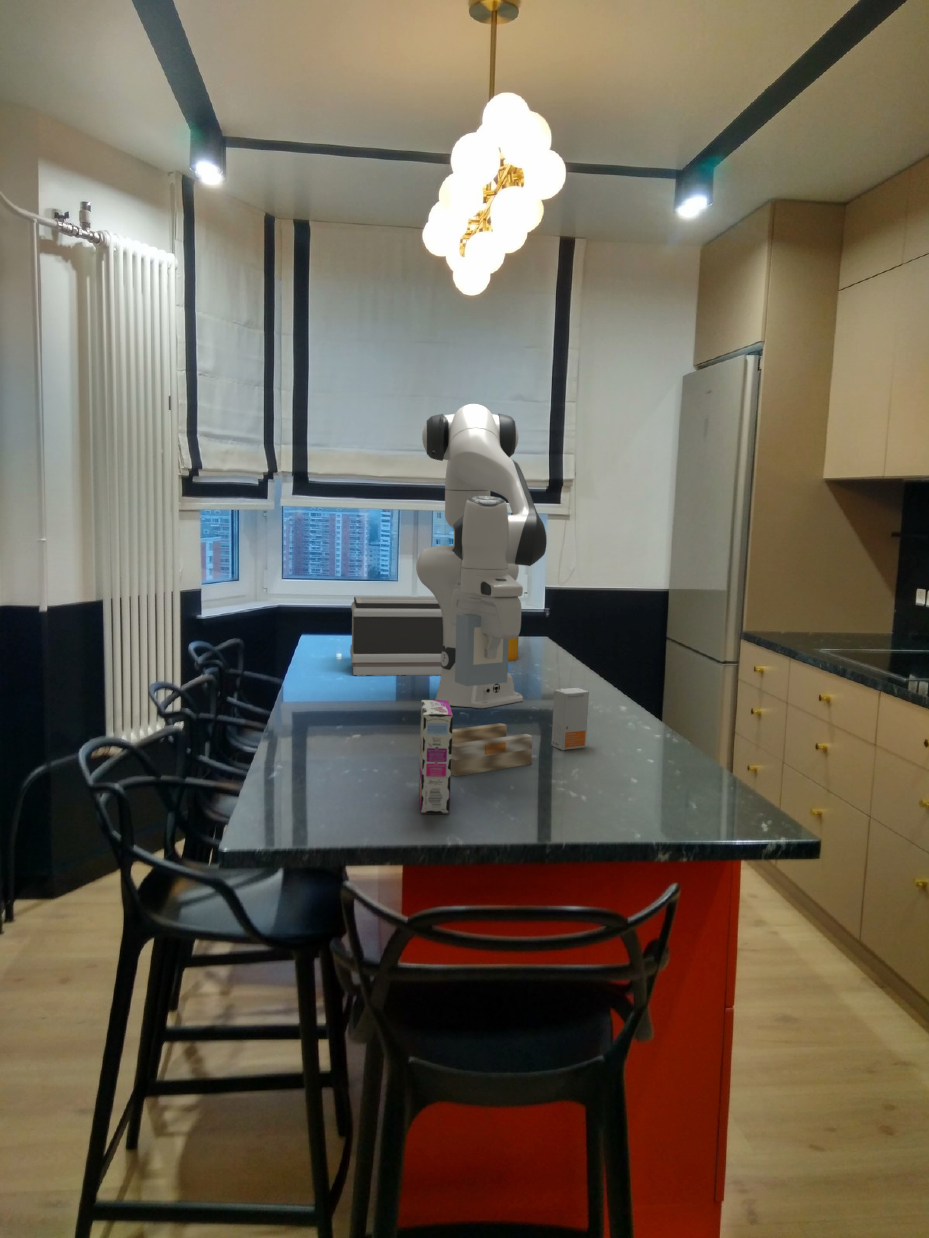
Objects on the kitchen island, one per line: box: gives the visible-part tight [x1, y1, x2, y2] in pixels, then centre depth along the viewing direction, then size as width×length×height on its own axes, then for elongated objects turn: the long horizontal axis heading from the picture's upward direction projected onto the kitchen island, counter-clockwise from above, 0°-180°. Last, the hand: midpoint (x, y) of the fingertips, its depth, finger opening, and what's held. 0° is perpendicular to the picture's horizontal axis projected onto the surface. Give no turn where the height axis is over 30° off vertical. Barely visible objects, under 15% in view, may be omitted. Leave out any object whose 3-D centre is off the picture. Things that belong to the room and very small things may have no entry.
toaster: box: [349, 596, 443, 677], centre depth 254 cm, size 18×34×21 cm, turn 99°
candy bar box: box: [418, 699, 454, 815], centre depth 142 cm, size 11×5×16 cm, turn 5°
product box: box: [455, 614, 509, 686], centre depth 163 cm, size 4×9×13 cm, turn 121°
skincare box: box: [551, 687, 590, 751], centre depth 178 cm, size 6×4×12 cm
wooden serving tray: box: [451, 722, 533, 777], centre depth 166 cm, size 17×11×6 cm, turn 120°
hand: (481, 655), depth 163 cm, fingers closed on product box, 5 cm apart
